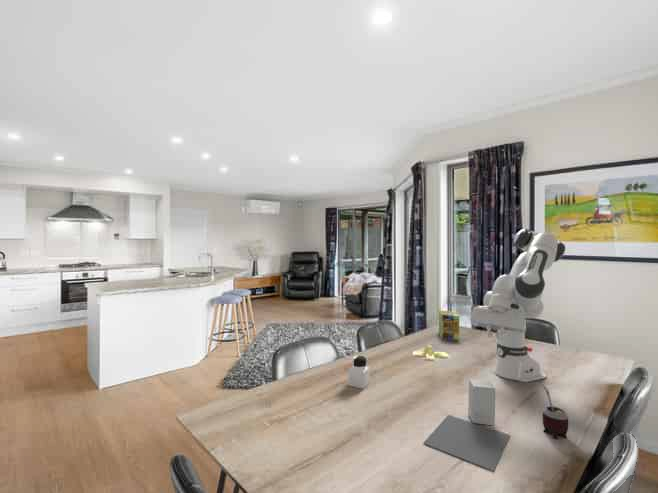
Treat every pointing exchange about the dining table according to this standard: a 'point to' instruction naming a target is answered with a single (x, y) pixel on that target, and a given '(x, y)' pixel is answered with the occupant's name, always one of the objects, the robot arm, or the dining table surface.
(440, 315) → the protein box
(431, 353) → the banana bunch
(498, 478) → the dining table surface
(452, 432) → the mat
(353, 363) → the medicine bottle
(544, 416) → the mate gourd
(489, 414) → the supplement box
